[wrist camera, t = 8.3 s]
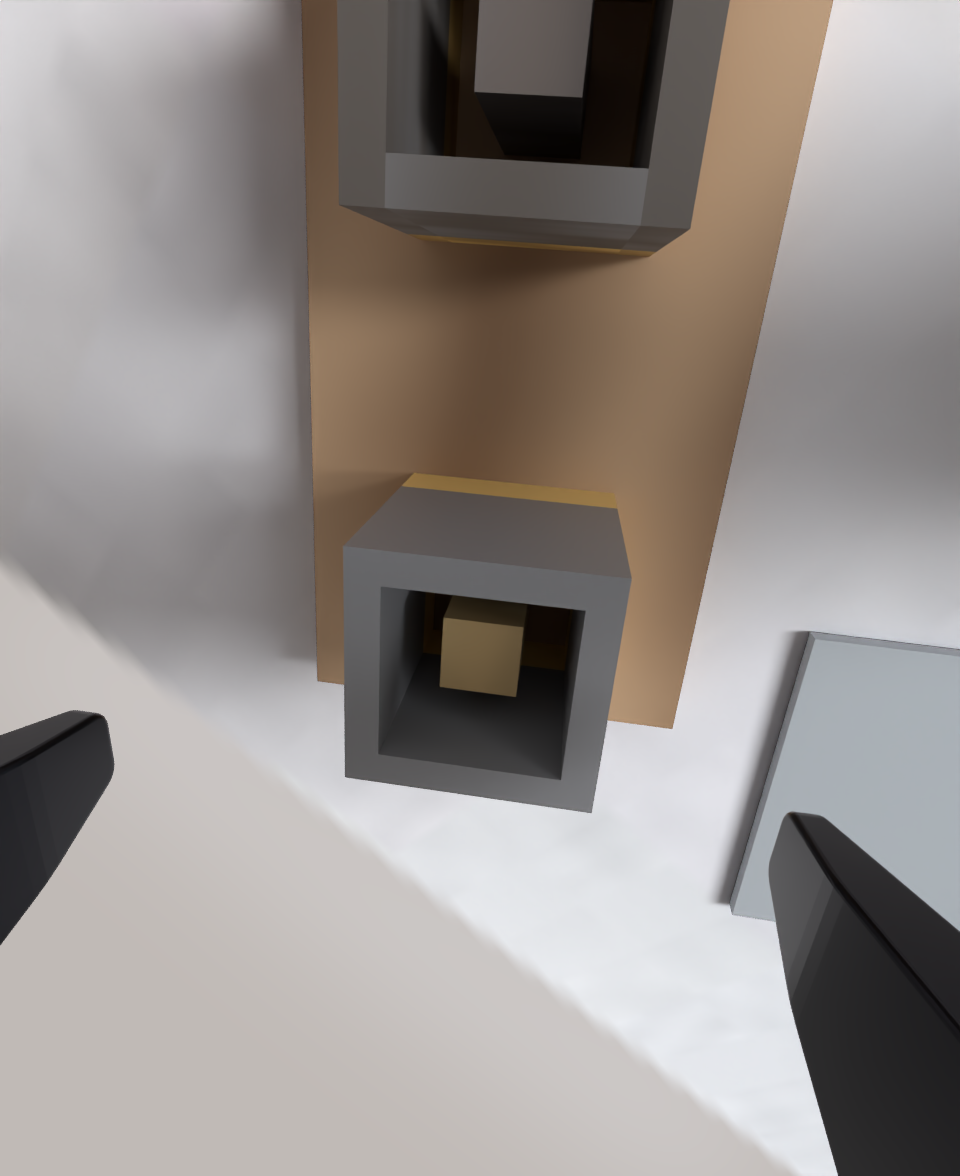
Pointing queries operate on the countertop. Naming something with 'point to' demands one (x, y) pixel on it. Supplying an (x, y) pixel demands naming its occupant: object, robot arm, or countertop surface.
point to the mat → (868, 765)
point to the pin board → (545, 281)
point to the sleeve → (498, 572)
